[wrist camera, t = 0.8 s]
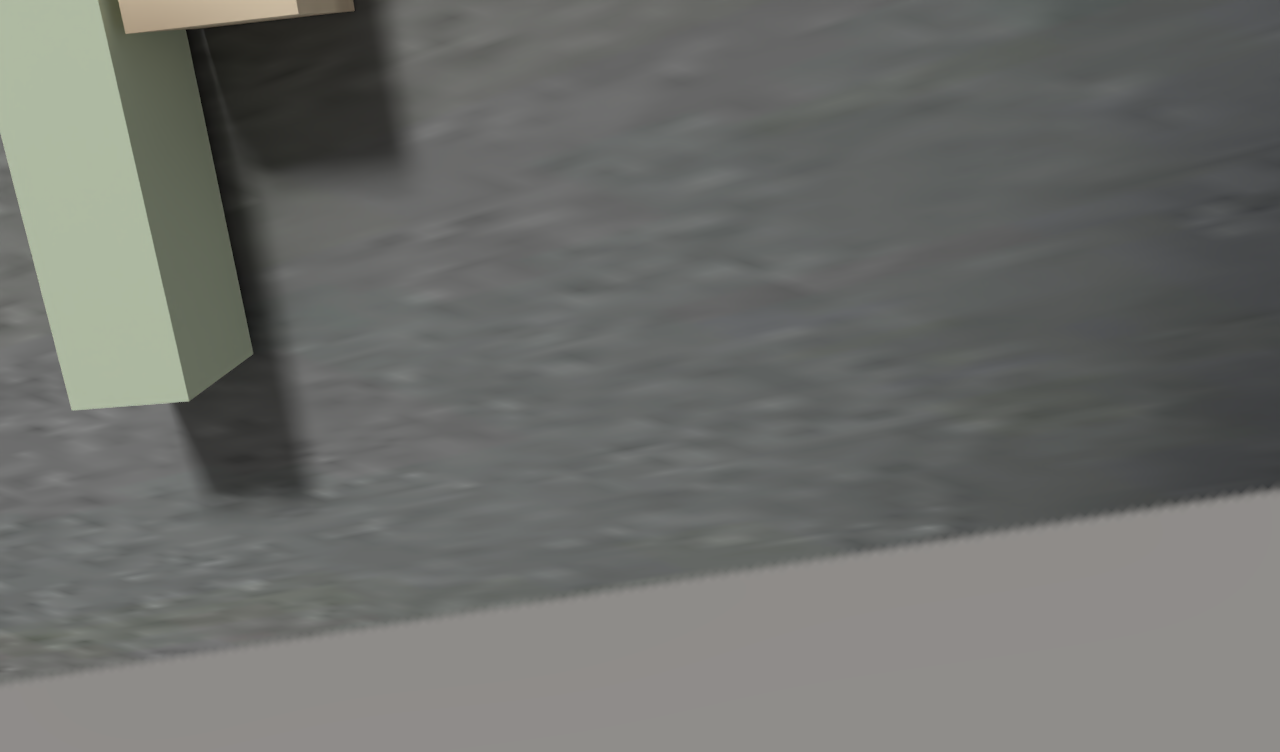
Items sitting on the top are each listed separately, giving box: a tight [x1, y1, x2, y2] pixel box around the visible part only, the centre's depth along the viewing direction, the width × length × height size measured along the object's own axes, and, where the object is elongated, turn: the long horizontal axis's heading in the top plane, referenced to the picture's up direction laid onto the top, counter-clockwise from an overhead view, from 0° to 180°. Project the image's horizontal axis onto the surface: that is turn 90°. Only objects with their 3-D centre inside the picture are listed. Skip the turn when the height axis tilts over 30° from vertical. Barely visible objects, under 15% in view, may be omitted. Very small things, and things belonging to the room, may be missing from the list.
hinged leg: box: [0, 0, 253, 410], centre depth 29 cm, size 12×3×5 cm, turn 6°
